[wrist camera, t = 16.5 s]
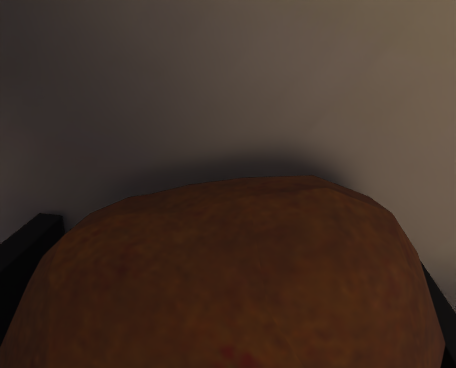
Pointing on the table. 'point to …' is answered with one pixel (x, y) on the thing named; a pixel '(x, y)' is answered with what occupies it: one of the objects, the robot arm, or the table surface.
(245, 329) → the potato
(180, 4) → the table surface
